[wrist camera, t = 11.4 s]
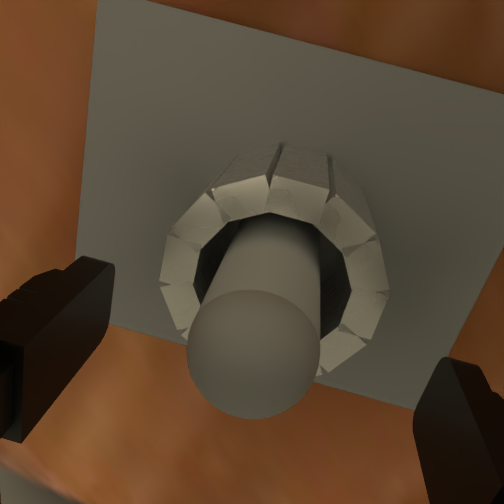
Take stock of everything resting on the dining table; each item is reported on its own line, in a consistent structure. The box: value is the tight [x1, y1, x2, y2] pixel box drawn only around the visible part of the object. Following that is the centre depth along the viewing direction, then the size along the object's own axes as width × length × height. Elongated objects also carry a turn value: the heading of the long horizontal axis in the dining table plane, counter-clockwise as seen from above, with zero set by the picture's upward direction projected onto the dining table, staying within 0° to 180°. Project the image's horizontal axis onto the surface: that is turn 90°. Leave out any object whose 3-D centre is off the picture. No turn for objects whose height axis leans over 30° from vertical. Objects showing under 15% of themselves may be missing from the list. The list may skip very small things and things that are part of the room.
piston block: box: [75, 0, 504, 419], centre depth 14 cm, size 16×13×12 cm
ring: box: [159, 142, 389, 376], centre depth 15 cm, size 6×6×5 cm
